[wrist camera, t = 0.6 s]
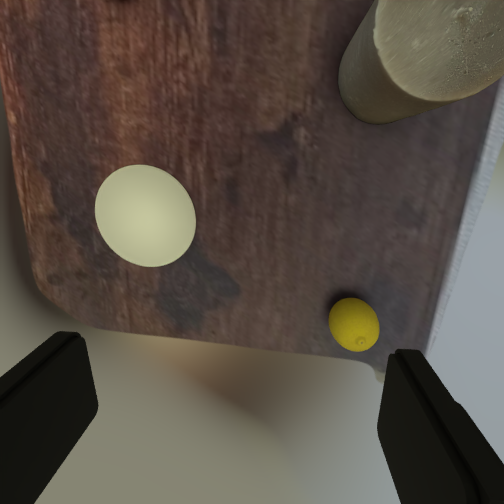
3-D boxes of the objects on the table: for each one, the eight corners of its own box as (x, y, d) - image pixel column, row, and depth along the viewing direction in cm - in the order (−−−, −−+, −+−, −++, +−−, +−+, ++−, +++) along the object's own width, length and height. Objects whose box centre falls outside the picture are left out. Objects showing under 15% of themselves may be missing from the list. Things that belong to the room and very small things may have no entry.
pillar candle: (442, 103, 32) (576, 58, 17) (349, 138, 33) (401, 124, 19) (423, -1, 29) (560, -152, 15) (324, 43, 31) (361, -55, 17)
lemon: (358, 330, 41) (375, 371, 33) (318, 318, 41) (327, 356, 33) (375, 294, 39) (397, 329, 31) (333, 282, 39) (346, 313, 31)
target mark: (88, 163, 37) (87, 163, 37) (193, 165, 36) (192, 165, 36) (103, 264, 41) (102, 264, 41) (198, 268, 40) (197, 268, 40)
